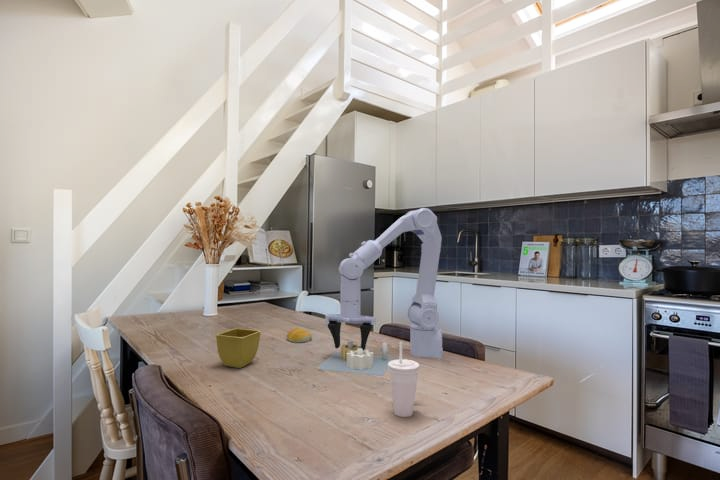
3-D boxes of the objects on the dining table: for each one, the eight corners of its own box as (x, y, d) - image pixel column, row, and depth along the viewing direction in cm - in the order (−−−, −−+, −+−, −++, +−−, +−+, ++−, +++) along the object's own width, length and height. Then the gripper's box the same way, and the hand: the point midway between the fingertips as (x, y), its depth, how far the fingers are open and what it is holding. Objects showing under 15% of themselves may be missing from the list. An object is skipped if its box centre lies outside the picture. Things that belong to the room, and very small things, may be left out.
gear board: (395, 361, 107) (395, 341, 107) (382, 380, 92) (382, 357, 92) (336, 355, 112) (336, 336, 113) (315, 373, 97) (315, 351, 97)
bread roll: (296, 344, 126) (296, 333, 126) (283, 339, 132) (283, 328, 132) (316, 340, 131) (317, 329, 131) (303, 336, 138) (303, 325, 138)
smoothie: (385, 406, 77) (385, 338, 78) (415, 405, 78) (415, 337, 78) (390, 420, 71) (390, 346, 71) (423, 419, 71) (423, 346, 72)
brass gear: (362, 356, 108) (362, 344, 108) (357, 362, 103) (357, 349, 103) (344, 354, 109) (344, 343, 109) (338, 360, 104) (338, 348, 104)
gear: (375, 363, 102) (375, 350, 102) (368, 371, 95) (368, 357, 95) (351, 360, 104) (351, 348, 104) (343, 368, 97) (343, 355, 97)
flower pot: (261, 362, 106) (261, 330, 107) (242, 371, 98) (242, 337, 98) (235, 358, 109) (235, 328, 109) (214, 368, 101) (215, 334, 101)
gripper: (321, 301, 104) (321, 350, 104) (371, 303, 100) (371, 354, 100) (330, 297, 111) (330, 343, 111) (377, 300, 107) (377, 347, 107)
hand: (350, 348), depth 106 cm, fingers open, 7 cm apart
